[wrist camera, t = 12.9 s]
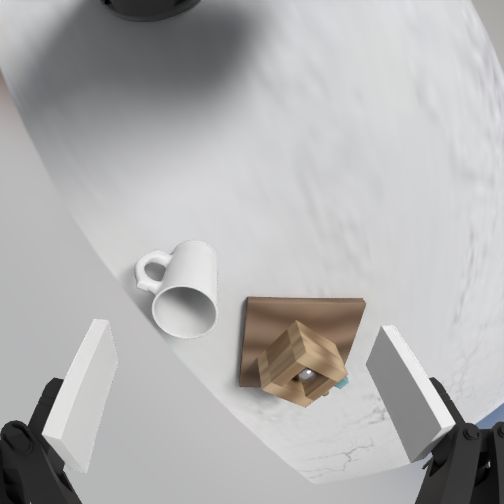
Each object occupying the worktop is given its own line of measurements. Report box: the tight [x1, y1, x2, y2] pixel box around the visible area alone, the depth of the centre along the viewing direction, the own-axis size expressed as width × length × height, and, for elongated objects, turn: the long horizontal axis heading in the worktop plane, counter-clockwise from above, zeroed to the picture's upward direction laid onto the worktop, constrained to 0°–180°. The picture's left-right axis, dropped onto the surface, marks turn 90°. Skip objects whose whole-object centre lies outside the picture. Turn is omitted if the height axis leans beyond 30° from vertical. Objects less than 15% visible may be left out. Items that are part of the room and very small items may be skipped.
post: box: [298, 367, 316, 383], centre depth 44 cm, size 2×2×6 cm
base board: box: [239, 297, 366, 387], centre depth 48 cm, size 18×18×2 cm
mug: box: [135, 240, 218, 339], centre depth 35 cm, size 10×7×12 cm, turn 58°
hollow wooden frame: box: [257, 320, 349, 408], centre depth 45 cm, size 16×9×7 cm, turn 51°
